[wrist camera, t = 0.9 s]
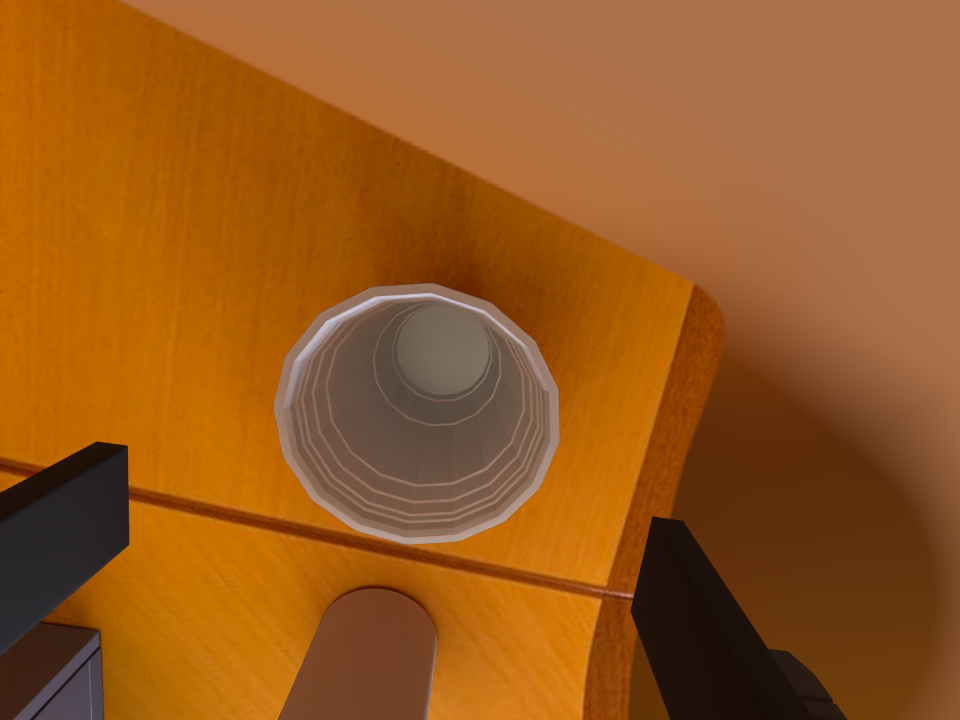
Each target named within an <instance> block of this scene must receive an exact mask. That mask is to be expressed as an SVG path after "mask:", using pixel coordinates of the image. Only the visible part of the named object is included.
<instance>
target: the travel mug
mask: <svg viewBox="0 0 960 720" xmlns="http://www.w3.org/2000/svg"><path fill="white" fill-rule="evenodd" d="M436 651H437V635H436V631H435V627H434V625H433V623H432V621H431V619H430V617H429V616H428V614H427V613H426V612H425V611H424V610H423V609H422V607H421V606H419V605H418V604H417V603H416V602H414V601H413V600H411V599H410V598H408V597H406V596H404V595H402V594H400V593H397V592H394V591H390V590H385V589H363V590H358V591H354V592H351V593H349V594H347V595H344V596H343V597H341V598H339V599H338V600H337V601H335V602H334V603H333V604H332V605H331V606H330V607H329V608H328V609H327V611H326V612H325V614H324V615H323V617H322V619H321V622H320V624H319V626H318V629H317V631H316V633H315V635H314V638H313V640H312V642H311V645H310V647H309V649H308V652H307V654H306V656H305V659H304V661H303V663H302V665H301V668H300V670H299V672H298V675H297V677H296V679H295V682H294V684H293V686H292V688H291V691H290V693H289V695H288V698H287V700H286V702H285V705H284V707H283V709H282V711H281V714H280V716H279V718H278V720H427V719H428V712H429V704H430V697H431V689H432V681H433V674H434V666H435V658H436Z"/></svg>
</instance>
